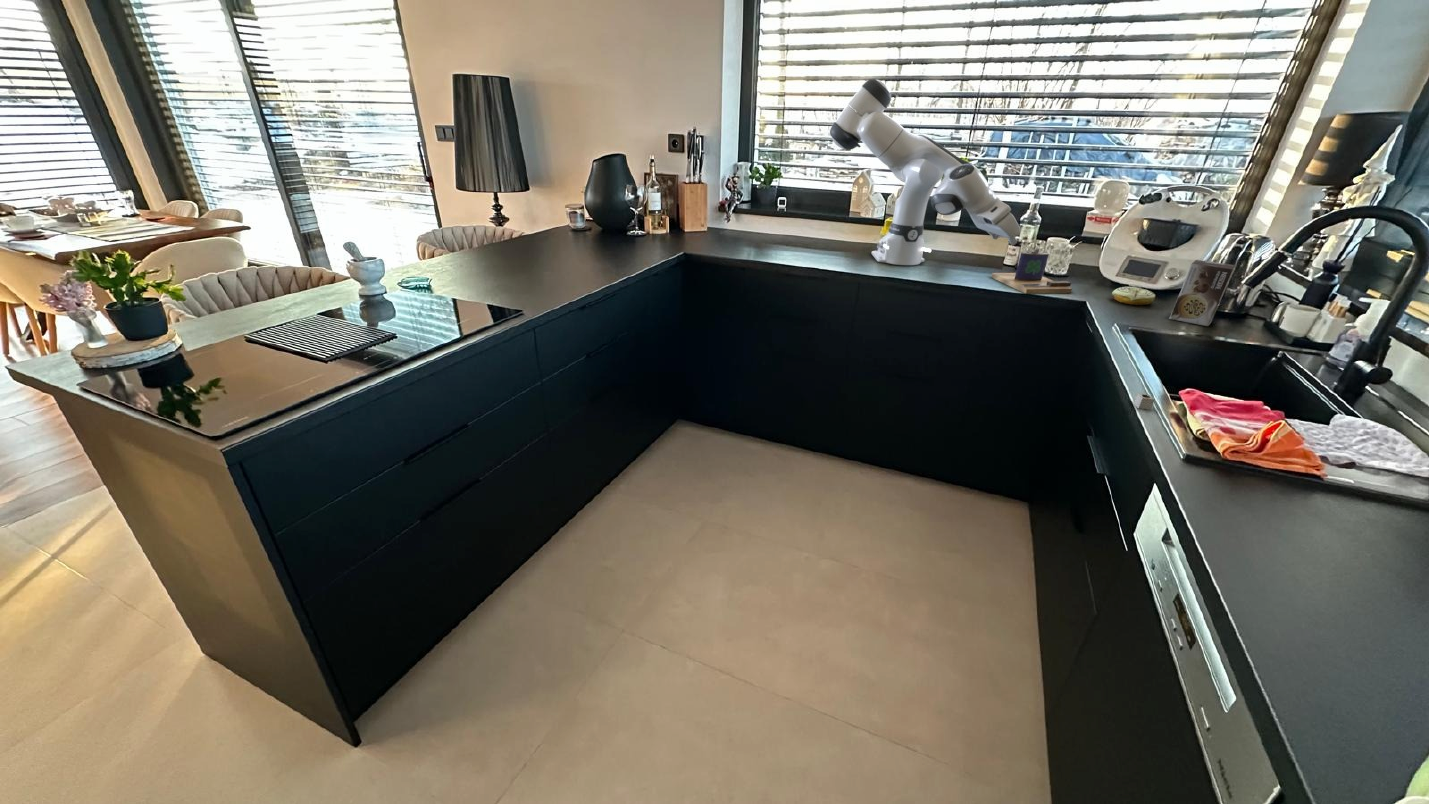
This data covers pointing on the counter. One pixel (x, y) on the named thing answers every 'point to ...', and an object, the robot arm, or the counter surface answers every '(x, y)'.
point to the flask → (1031, 265)
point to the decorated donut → (1133, 295)
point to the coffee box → (1202, 292)
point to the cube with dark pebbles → (1144, 401)
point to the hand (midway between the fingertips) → (1005, 240)
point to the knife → (1049, 284)
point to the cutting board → (1017, 284)
